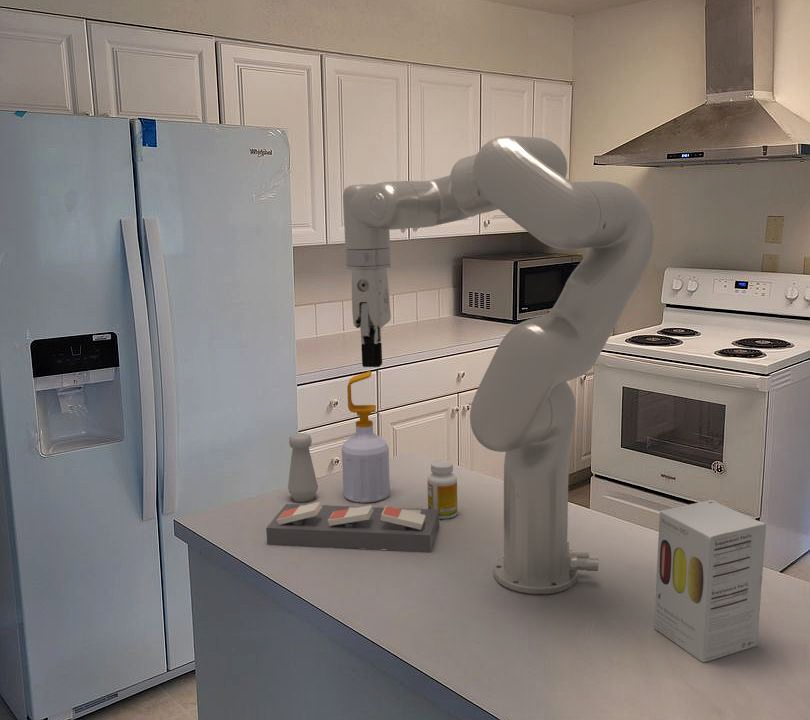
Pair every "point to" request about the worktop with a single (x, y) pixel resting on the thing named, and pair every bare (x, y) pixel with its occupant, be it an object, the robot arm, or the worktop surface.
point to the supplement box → (709, 579)
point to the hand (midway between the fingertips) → (372, 365)
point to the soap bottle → (365, 456)
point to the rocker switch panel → (354, 531)
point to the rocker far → (299, 513)
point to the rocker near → (403, 517)
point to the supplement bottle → (442, 489)
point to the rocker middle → (350, 515)
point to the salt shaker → (301, 469)
